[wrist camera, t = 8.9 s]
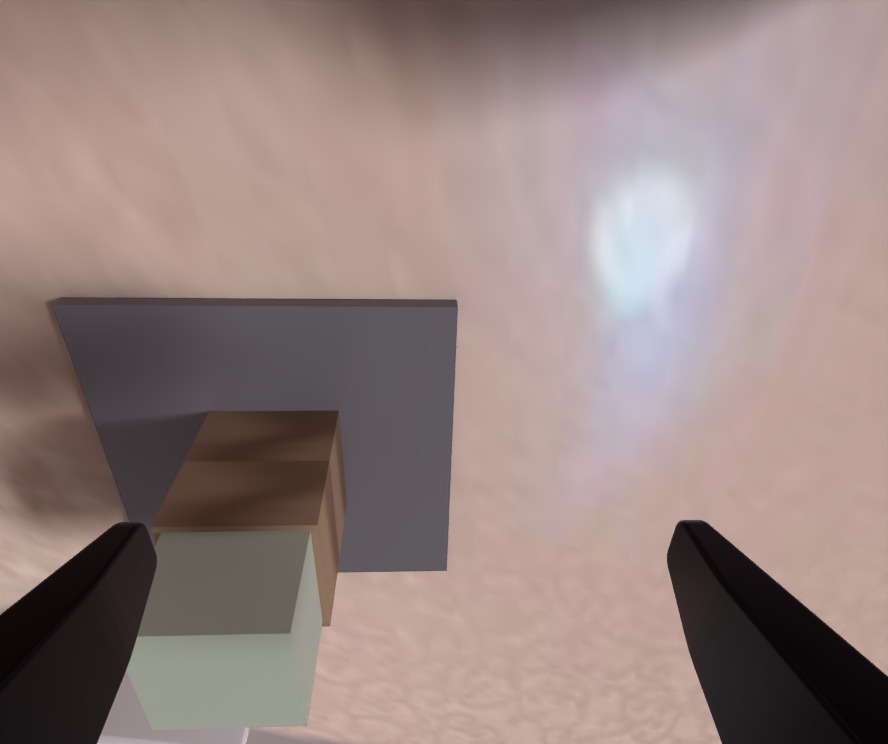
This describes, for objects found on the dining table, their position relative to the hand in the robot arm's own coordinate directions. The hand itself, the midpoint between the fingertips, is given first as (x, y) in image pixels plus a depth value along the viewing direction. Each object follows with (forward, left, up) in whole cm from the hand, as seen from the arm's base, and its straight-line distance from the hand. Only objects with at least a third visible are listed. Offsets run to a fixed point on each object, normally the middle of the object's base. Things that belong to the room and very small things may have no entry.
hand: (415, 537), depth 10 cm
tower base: (+6, +8, -12) cm, 16 cm away
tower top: (+6, +8, -9) cm, 13 cm away
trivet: (+6, +8, -13) cm, 16 cm away
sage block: (+5, +8, -6) cm, 12 cm away
